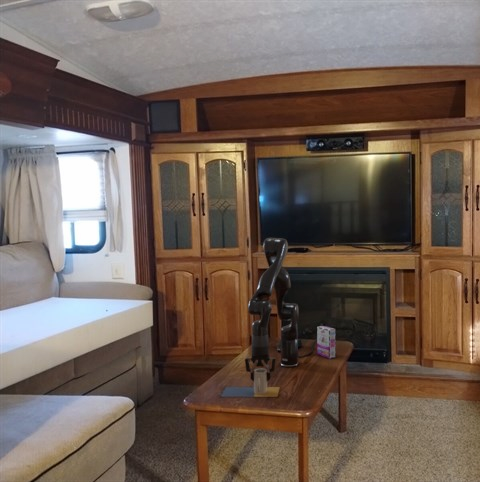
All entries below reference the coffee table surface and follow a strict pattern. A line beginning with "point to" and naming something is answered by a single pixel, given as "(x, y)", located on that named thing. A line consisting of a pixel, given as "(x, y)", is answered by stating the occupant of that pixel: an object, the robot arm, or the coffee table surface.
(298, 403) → the coffee table surface
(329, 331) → the candy bar box
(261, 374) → the mug
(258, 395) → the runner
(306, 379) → the coffee table surface
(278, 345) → the miniature car
